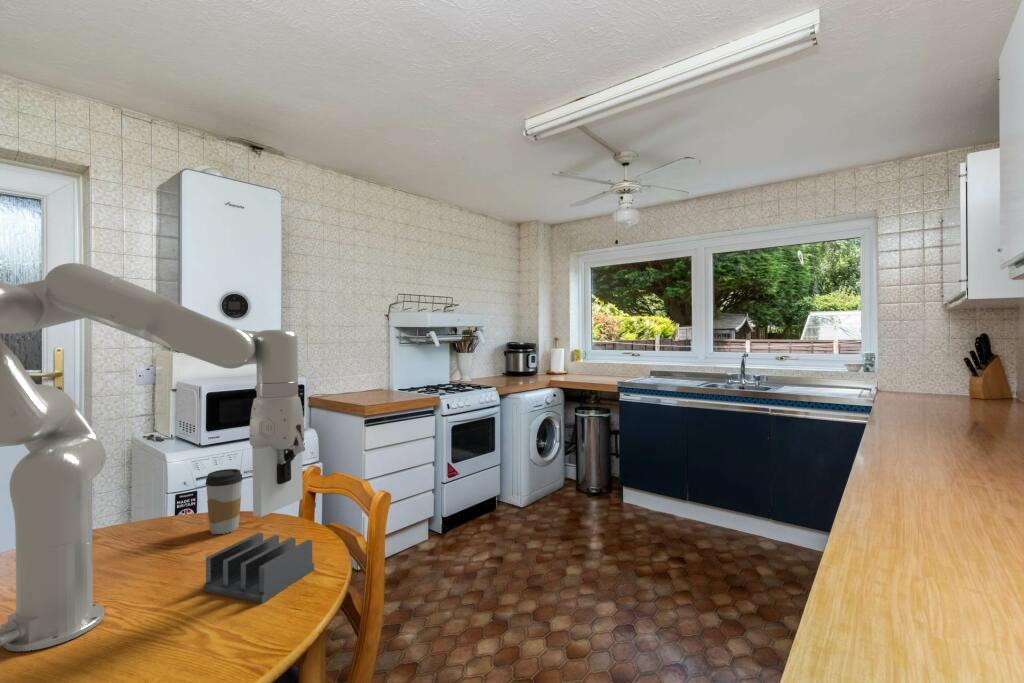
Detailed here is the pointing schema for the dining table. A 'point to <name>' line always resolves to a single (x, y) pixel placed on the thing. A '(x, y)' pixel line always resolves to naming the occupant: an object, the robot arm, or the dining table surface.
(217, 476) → the coffee cup
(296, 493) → the plate
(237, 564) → the dish rack
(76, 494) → the robot arm
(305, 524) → the dining table surface
